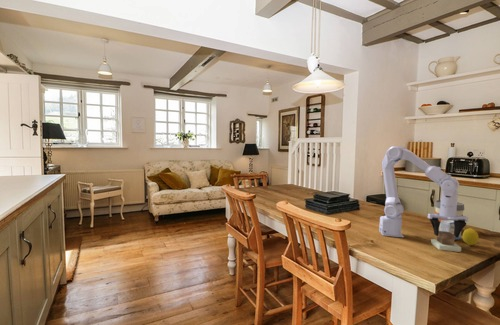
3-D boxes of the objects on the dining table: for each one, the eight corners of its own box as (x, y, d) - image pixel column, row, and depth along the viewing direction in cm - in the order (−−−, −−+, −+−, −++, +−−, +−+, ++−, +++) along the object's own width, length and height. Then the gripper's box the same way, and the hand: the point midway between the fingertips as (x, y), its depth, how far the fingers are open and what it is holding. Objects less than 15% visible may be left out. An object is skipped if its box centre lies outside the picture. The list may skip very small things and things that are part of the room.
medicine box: (448, 240, 121) (450, 222, 120) (439, 237, 125) (440, 220, 125) (461, 239, 123) (462, 221, 122) (451, 236, 127) (452, 219, 127)
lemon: (461, 242, 119) (463, 225, 119) (477, 245, 116) (478, 228, 115) (461, 245, 115) (463, 228, 115) (478, 249, 112) (479, 231, 111)
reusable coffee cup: (434, 231, 134) (437, 203, 133) (431, 225, 145) (432, 199, 144) (465, 236, 128) (467, 206, 127) (459, 229, 139) (461, 201, 138)
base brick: (439, 250, 110) (439, 245, 110) (430, 244, 118) (431, 238, 118) (460, 253, 108) (461, 247, 108) (451, 246, 116) (451, 240, 116)
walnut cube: (441, 244, 111) (442, 234, 111) (437, 240, 115) (437, 230, 115) (453, 245, 110) (454, 235, 110) (448, 241, 114) (449, 231, 114)
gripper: (433, 206, 109) (431, 237, 110) (473, 209, 106) (470, 240, 107) (426, 202, 116) (424, 231, 117) (463, 205, 113) (461, 235, 114)
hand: (446, 235), depth 113 cm, fingers open, 7 cm apart
